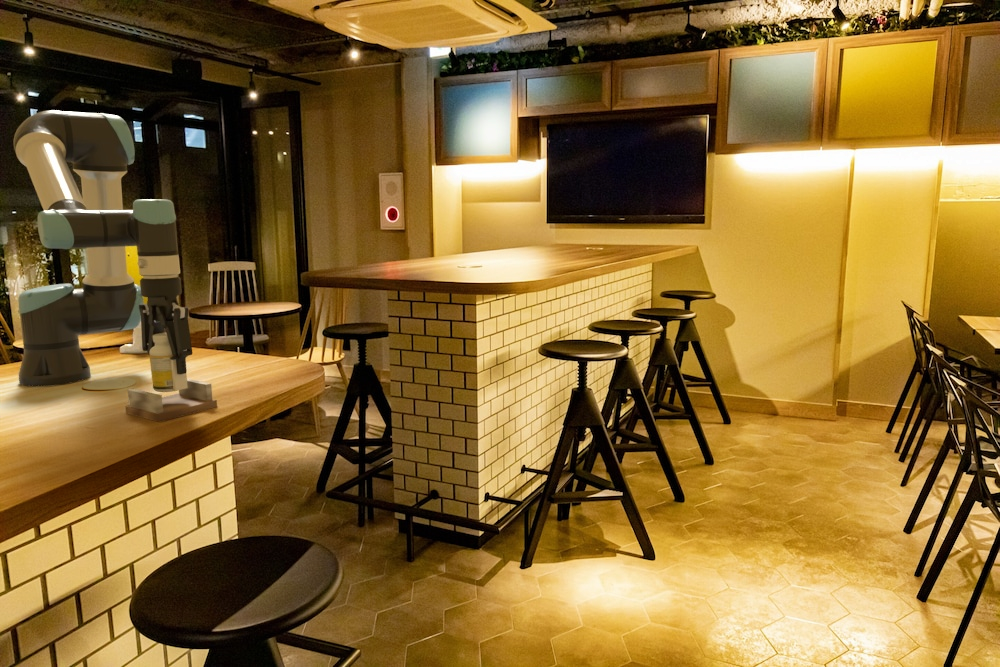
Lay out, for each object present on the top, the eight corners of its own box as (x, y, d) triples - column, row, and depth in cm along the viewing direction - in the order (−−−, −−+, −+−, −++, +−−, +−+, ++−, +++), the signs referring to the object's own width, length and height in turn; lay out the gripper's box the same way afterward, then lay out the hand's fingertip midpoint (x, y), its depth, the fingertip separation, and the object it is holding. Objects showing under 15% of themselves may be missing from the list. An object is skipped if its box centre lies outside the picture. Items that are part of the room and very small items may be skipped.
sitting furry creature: (149, 347, 218) (145, 309, 216) (165, 350, 214) (162, 310, 212) (118, 353, 211) (114, 312, 209) (135, 356, 206) (131, 315, 204)
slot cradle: (126, 413, 147) (123, 389, 146) (183, 399, 158) (181, 377, 157) (159, 422, 141) (157, 397, 140) (217, 406, 151) (215, 383, 151)
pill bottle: (177, 384, 153) (173, 330, 151) (193, 388, 149) (188, 333, 147) (147, 390, 148) (141, 334, 146) (162, 394, 144) (156, 338, 142)
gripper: (115, 276, 147) (126, 385, 150) (171, 280, 136) (181, 397, 140) (150, 273, 153) (160, 378, 157) (206, 276, 142) (215, 389, 146)
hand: (170, 386), depth 148 cm, fingers closed on pill bottle, 6 cm apart
